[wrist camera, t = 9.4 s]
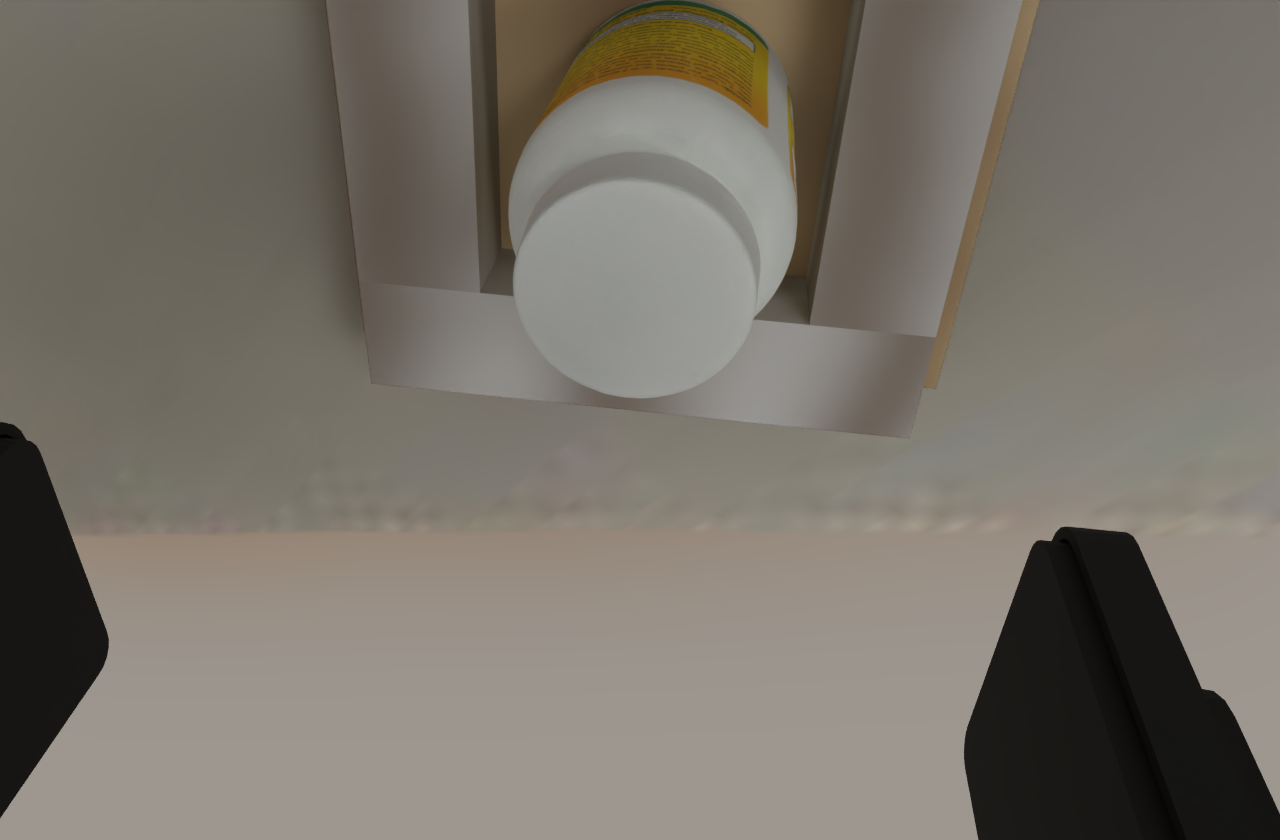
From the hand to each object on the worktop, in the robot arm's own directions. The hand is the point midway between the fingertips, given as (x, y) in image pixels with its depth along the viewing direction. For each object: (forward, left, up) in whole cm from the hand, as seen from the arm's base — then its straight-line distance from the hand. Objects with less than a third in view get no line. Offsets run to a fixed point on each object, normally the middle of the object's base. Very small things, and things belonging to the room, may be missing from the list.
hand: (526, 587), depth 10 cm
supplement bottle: (0, +1, -17) cm, 17 cm away
